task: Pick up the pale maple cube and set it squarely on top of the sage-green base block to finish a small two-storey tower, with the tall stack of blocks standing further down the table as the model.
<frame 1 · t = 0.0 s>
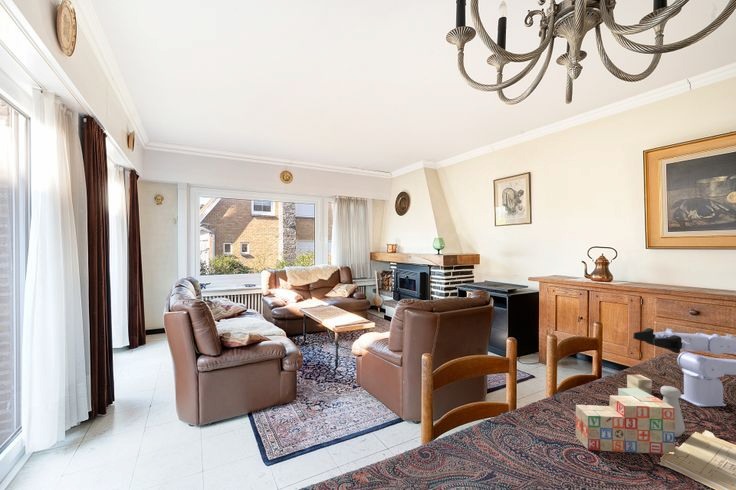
hand: (643, 338, 114), 22 cm above the table, tool horizontal, fingers open, 7 cm apart
stack of blocks: (623, 446, 90), on the table
maple cube: (639, 390, 123), on the table
base block: (636, 401, 114), on the table
salt shaker: (670, 433, 95), on the table
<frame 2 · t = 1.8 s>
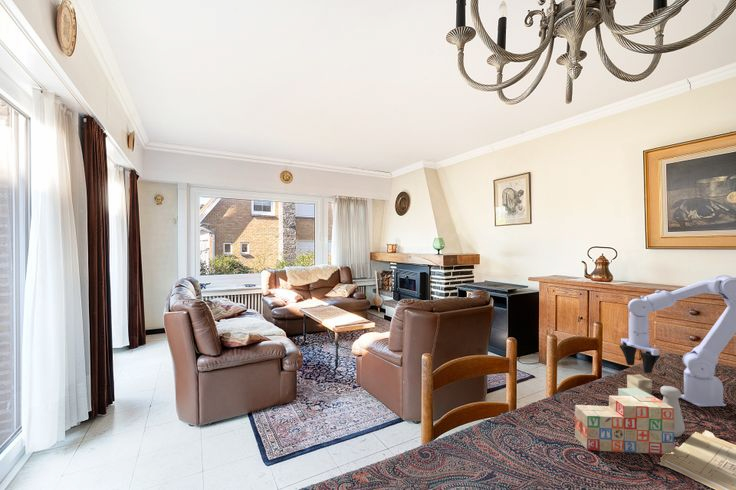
hand: (638, 368, 123), 8 cm above the table, tool pointing down, fingers open, 7 cm apart
nothing on the table moved.
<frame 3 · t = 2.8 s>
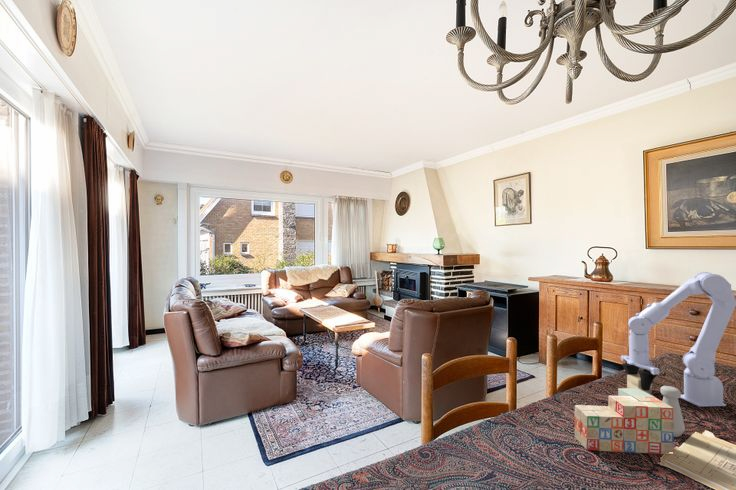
hand: (639, 386, 123), 1 cm above the table, tool pointing down, fingers closed on maple cube, 5 cm apart
maple cube: (639, 390, 123), on the table, touching gripper
everything else where it was.
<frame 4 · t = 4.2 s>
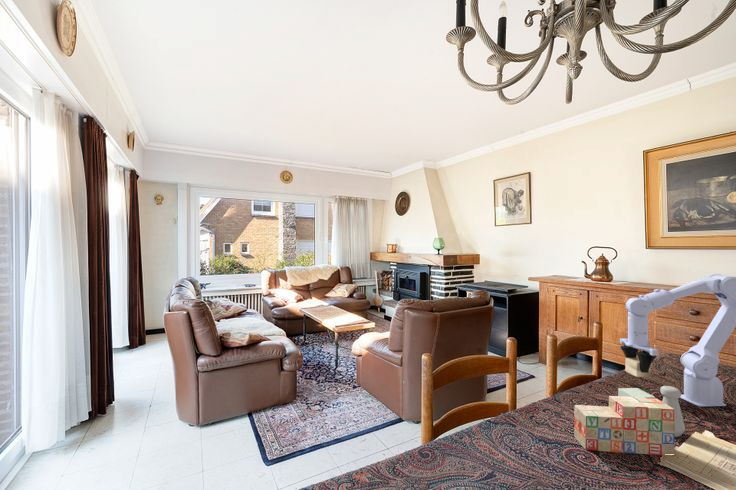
hand: (637, 369, 120), 9 cm above the table, tool pointing down, fingers closed on maple cube, 5 cm apart
maple cube: (637, 373, 121), point 7 cm above the table, touching gripper
everything else where it was.
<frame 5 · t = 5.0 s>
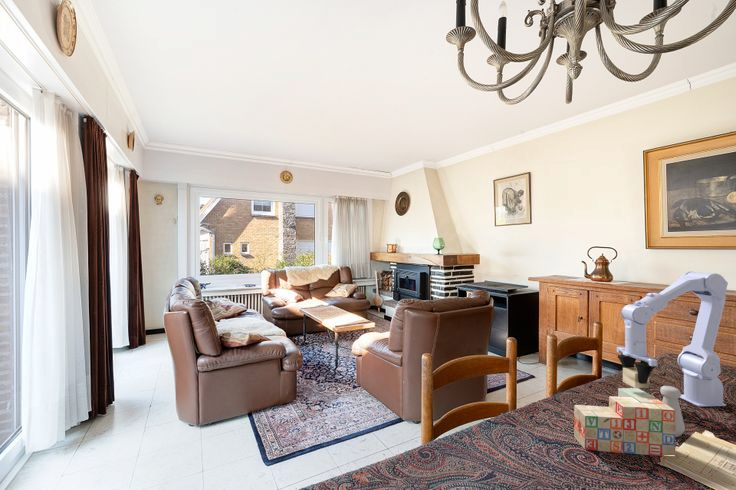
hand: (635, 379, 114), 7 cm above the table, tool pointing down, fingers closed on maple cube, 5 cm apart
maple cube: (635, 384, 115), point 6 cm above the table, touching gripper
everything else where it was.
when the fingers open (6 cm above the table, at t = 5.7 s): maple cube drops 1 cm, resting on base block.
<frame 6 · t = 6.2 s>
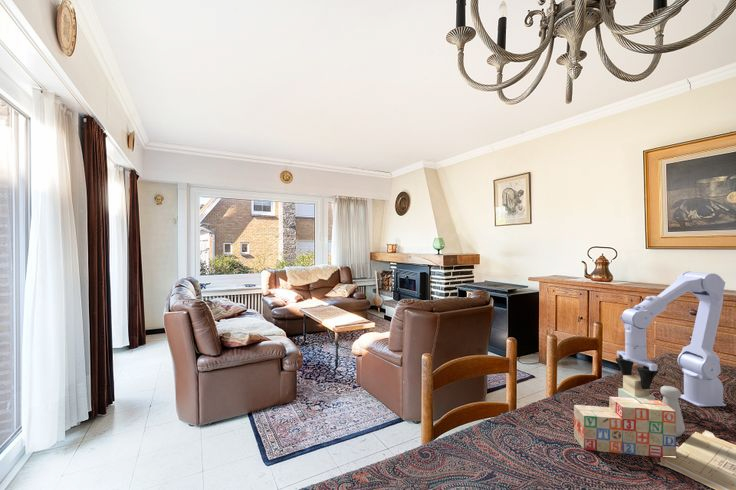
hand: (636, 384, 114), 6 cm above the table, tool pointing down, fingers open, 7 cm apart
maple cube: (636, 392, 114), point 3 cm above the table, touching base block
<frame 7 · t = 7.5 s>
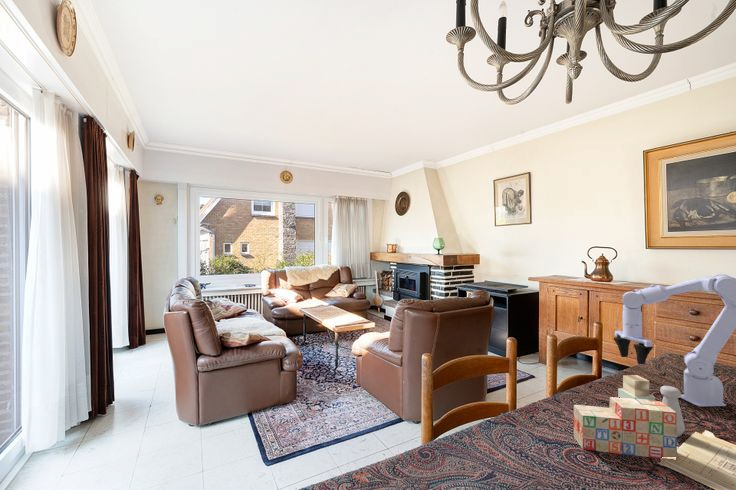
hand: (632, 360, 125), 10 cm above the table, tool pointing down, fingers open, 7 cm apart
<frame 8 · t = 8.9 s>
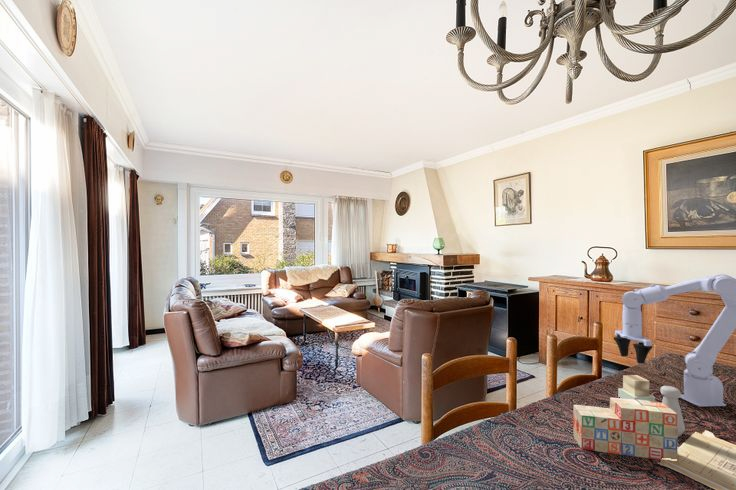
hand: (632, 359, 126), 10 cm above the table, tool pointing down, fingers open, 7 cm apart
at the end: maple cube 0.1 cm off-centre on the base block, point 3.0 cm above the base block's base; maple cube tilted 0°; the gripper is holding nothing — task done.
